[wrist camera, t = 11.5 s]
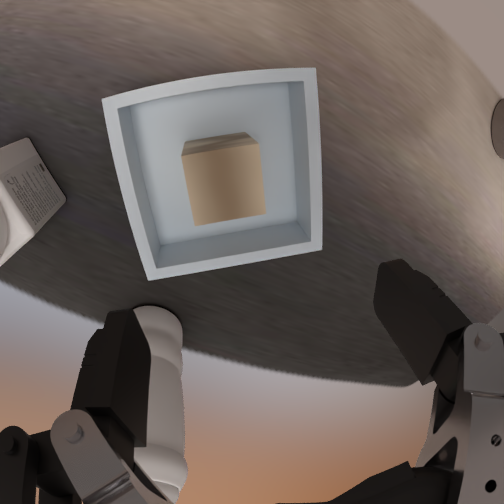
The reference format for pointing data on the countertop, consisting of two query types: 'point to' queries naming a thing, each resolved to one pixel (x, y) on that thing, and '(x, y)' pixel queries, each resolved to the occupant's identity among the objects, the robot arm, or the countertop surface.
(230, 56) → the countertop surface
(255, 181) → the maple block
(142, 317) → the water bottle
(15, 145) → the container
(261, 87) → the gray bin
